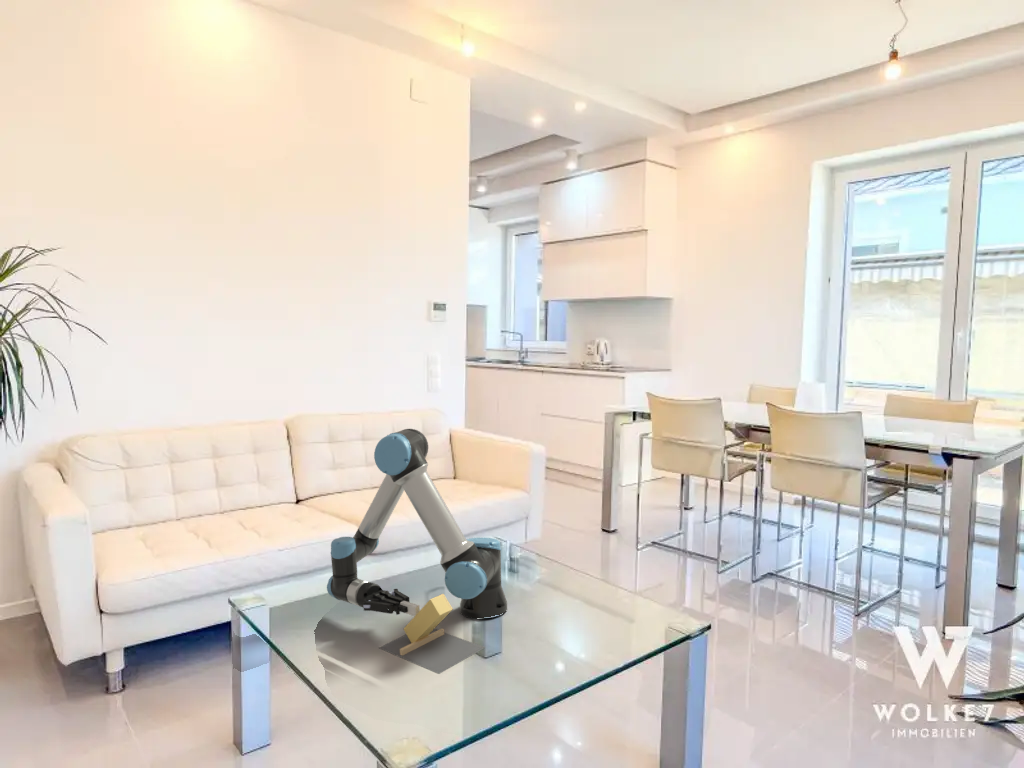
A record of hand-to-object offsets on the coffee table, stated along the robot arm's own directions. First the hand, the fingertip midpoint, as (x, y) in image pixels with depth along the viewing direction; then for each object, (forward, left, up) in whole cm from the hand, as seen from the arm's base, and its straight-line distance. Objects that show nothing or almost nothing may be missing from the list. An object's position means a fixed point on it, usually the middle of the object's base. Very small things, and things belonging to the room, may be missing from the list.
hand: (417, 610), depth 183 cm
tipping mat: (-4, +3, -10) cm, 11 cm away
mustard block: (+1, -2, -7) cm, 7 cm away
